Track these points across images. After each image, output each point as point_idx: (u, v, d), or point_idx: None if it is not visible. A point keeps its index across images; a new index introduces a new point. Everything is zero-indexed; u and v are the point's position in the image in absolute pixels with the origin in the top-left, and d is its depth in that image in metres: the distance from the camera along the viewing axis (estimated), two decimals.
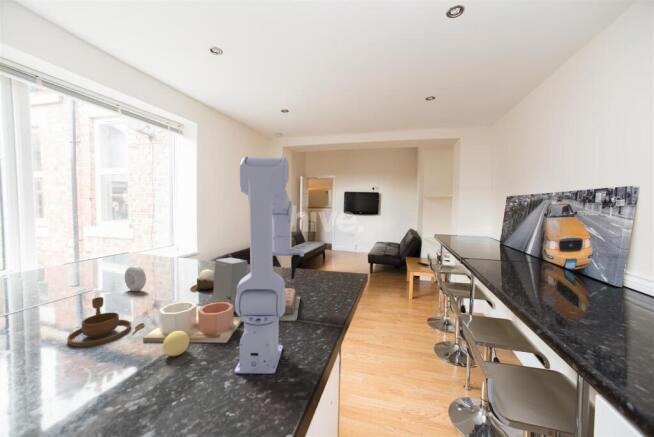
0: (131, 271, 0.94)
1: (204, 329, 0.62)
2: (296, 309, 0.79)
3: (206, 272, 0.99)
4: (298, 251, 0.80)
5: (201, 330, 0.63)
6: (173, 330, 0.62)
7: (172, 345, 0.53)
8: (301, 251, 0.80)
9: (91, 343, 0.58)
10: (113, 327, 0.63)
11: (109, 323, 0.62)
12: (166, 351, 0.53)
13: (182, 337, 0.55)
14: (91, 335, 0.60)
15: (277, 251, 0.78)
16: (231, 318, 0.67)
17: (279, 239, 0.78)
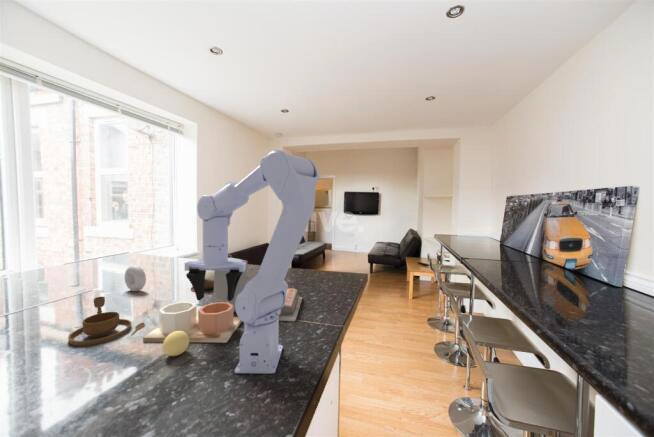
0: (131, 271, 0.94)
1: (204, 329, 0.62)
2: (296, 309, 0.79)
3: (207, 272, 0.99)
4: (236, 265, 0.61)
5: (201, 330, 0.63)
6: (173, 330, 0.62)
7: (172, 345, 0.53)
8: (240, 265, 0.61)
9: (91, 342, 0.58)
10: (113, 326, 0.63)
11: (109, 323, 0.62)
12: (166, 351, 0.53)
13: (182, 337, 0.55)
14: (92, 334, 0.61)
15: (207, 265, 0.60)
16: (231, 318, 0.67)
17: (209, 249, 0.59)
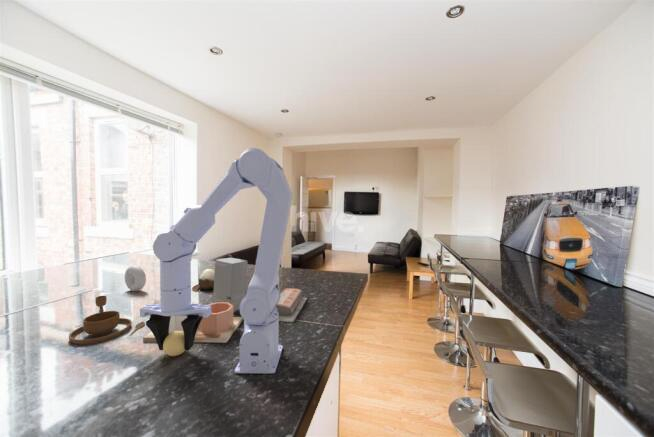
0: (131, 271, 0.94)
1: (204, 329, 0.62)
2: (297, 310, 0.78)
3: (208, 271, 0.99)
4: (199, 310, 0.54)
5: (201, 330, 0.63)
6: (173, 330, 0.62)
7: (172, 345, 0.53)
8: (204, 310, 0.54)
9: (91, 341, 0.59)
10: (113, 325, 0.64)
11: (109, 322, 0.63)
12: (166, 351, 0.53)
13: (182, 337, 0.55)
14: (92, 333, 0.61)
15: (164, 312, 0.52)
16: (231, 318, 0.67)
17: (167, 294, 0.52)
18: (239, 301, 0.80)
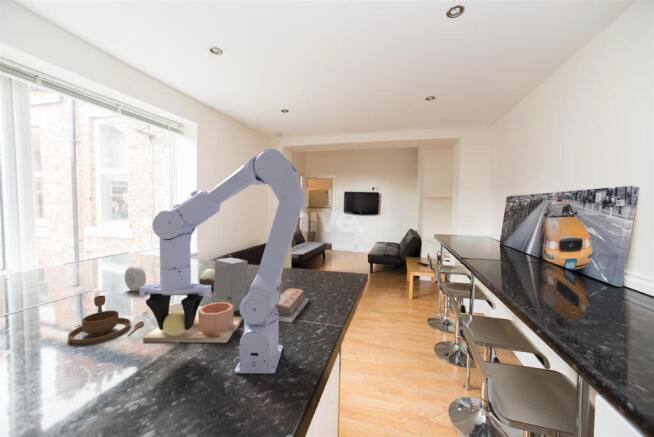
0: (131, 271, 0.94)
1: (204, 329, 0.62)
2: (297, 311, 0.78)
3: (209, 271, 1.00)
4: (199, 289, 0.54)
5: (201, 330, 0.63)
6: None
7: (172, 324, 0.53)
8: (204, 289, 0.54)
9: (90, 340, 0.59)
10: (113, 325, 0.64)
11: (108, 321, 0.63)
12: (166, 330, 0.53)
13: (182, 317, 0.54)
14: (91, 333, 0.61)
15: (164, 290, 0.52)
16: (231, 318, 0.67)
17: (167, 272, 0.52)
18: (239, 301, 0.80)
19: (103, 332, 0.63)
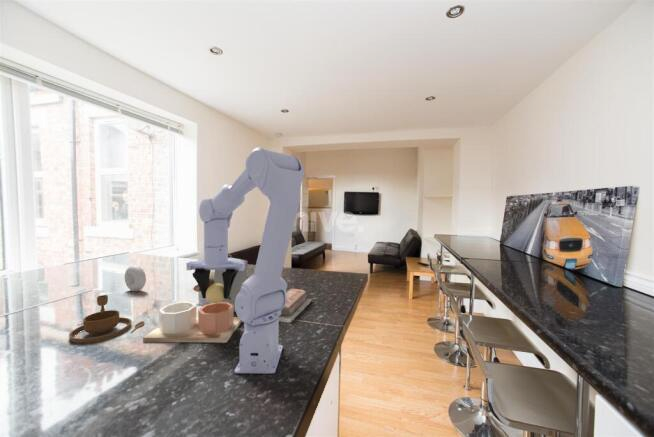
0: (131, 271, 0.94)
1: (204, 329, 0.62)
2: (297, 311, 0.77)
3: (210, 271, 1.00)
4: (236, 264, 0.65)
5: (201, 330, 0.63)
6: (173, 330, 0.62)
7: (214, 293, 0.64)
8: (240, 264, 0.65)
9: (90, 340, 0.59)
10: (113, 325, 0.64)
11: (109, 321, 0.63)
12: (209, 298, 0.64)
13: (221, 288, 0.65)
14: (91, 332, 0.62)
15: (208, 265, 0.63)
16: (231, 318, 0.67)
17: (211, 250, 0.63)
18: None
19: (104, 332, 0.63)
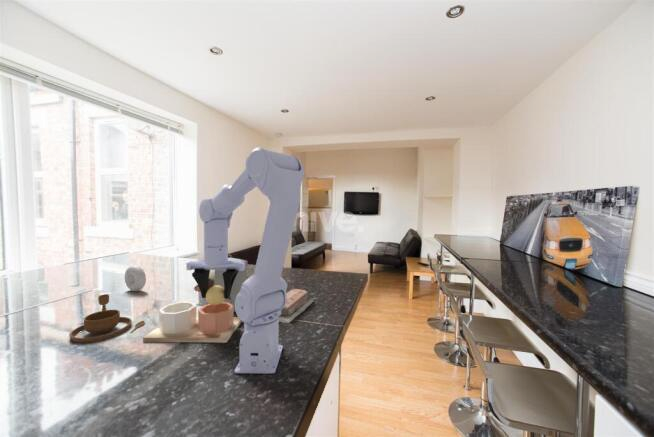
0: (131, 271, 0.94)
1: (204, 329, 0.62)
2: (297, 312, 0.77)
3: (210, 271, 1.00)
4: (236, 264, 0.65)
5: (201, 330, 0.63)
6: (173, 330, 0.62)
7: (214, 295, 0.64)
8: (240, 264, 0.65)
9: (91, 339, 0.60)
10: (113, 324, 0.65)
11: (109, 321, 0.64)
12: (209, 300, 0.64)
13: (221, 290, 0.65)
14: (92, 331, 0.62)
15: (208, 265, 0.63)
16: (231, 318, 0.67)
17: (211, 250, 0.63)
18: None
19: (104, 331, 0.64)
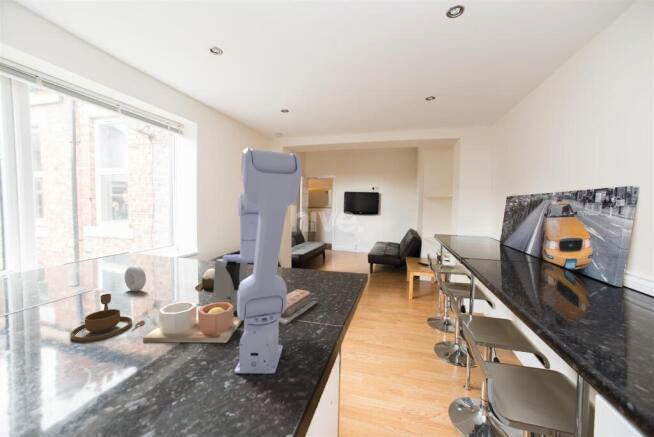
0: (131, 271, 0.94)
1: (204, 329, 0.62)
2: (296, 313, 0.76)
3: (211, 271, 1.00)
4: None
5: (201, 330, 0.63)
6: (173, 330, 0.62)
7: None
8: None
9: (91, 338, 0.60)
10: (113, 324, 0.65)
11: (109, 320, 0.64)
12: None
13: None
14: (92, 331, 0.63)
15: (245, 258, 0.65)
16: (231, 318, 0.67)
17: (248, 243, 0.65)
18: None
19: (104, 330, 0.64)
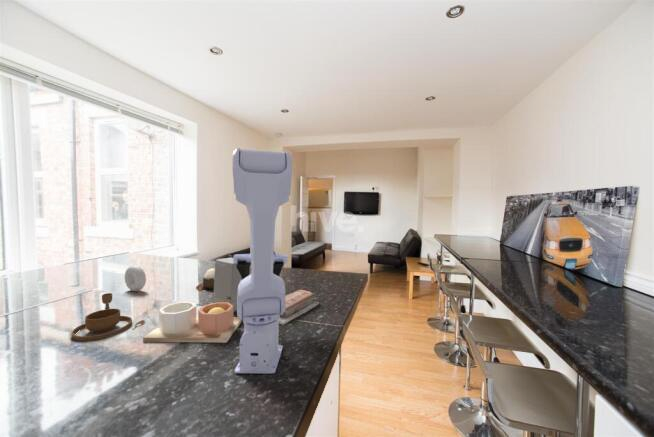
0: (131, 271, 0.94)
1: (204, 329, 0.62)
2: (296, 314, 0.76)
3: (212, 271, 1.00)
4: (281, 257, 0.68)
5: (201, 330, 0.63)
6: (173, 330, 0.62)
7: None
8: (284, 257, 0.68)
9: (90, 338, 0.61)
10: (113, 323, 0.65)
11: (109, 320, 0.64)
12: None
13: None
14: (92, 330, 0.63)
15: None
16: (231, 318, 0.67)
17: None
18: None
19: (104, 330, 0.64)
